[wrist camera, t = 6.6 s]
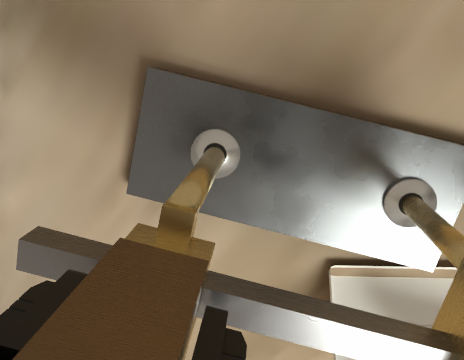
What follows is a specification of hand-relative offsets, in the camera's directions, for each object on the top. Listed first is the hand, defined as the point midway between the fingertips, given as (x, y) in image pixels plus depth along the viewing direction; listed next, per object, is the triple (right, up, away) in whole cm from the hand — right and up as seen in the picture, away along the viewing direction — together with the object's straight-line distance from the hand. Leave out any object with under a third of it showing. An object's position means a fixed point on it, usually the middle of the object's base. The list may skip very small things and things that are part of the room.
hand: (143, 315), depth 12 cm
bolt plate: (+7, +5, +13) cm, 15 cm away
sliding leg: (+1, +4, +11) cm, 12 cm away
